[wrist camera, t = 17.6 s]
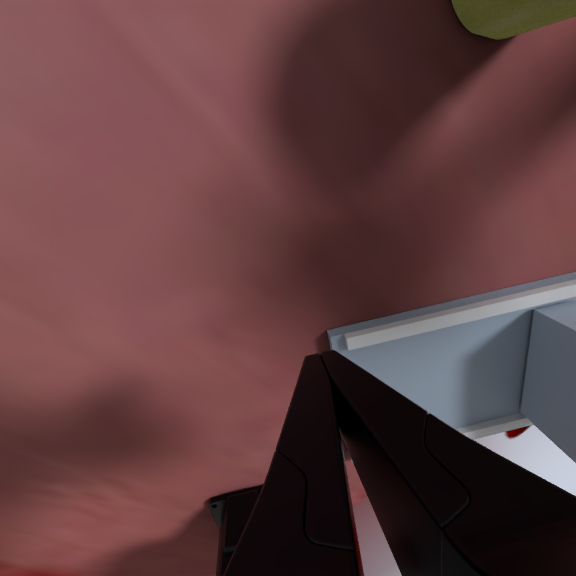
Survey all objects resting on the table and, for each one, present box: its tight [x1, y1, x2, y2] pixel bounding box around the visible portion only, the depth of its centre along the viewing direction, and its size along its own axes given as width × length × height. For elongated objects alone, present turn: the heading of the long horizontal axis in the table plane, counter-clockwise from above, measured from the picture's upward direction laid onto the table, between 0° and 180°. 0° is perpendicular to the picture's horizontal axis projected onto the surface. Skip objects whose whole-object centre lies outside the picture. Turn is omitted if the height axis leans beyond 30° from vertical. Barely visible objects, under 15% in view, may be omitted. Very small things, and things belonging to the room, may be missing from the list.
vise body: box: [327, 272, 576, 463], centre depth 22 cm, size 13×26×6 cm, turn 102°
